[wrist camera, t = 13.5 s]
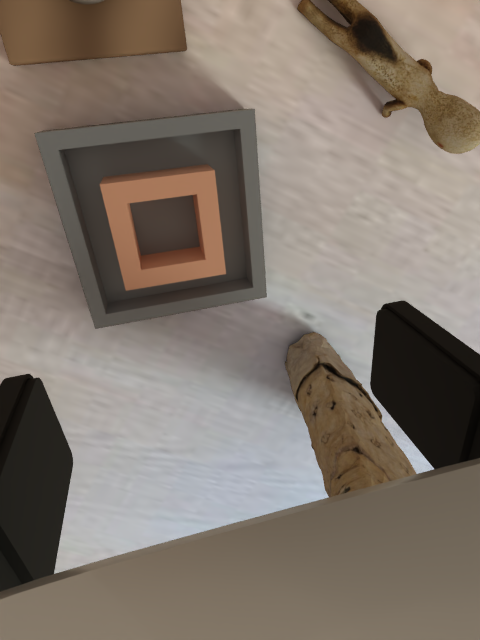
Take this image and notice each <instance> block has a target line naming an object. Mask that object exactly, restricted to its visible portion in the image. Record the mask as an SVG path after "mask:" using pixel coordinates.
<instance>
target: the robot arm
mask: <svg viewBox="0 0 480 640" xmlns="http://www.w3.org/2000/svg"><path fill="white" fill-rule="evenodd" d="M370 385H371V390H372V393H373V394H374V396H375V397H376V398H377V400H378V401H379V402H380V403H381V405H382V406H383V407H384V408H385V409H386V411H387V412H388V413H389V414H390V415H391V417H392V418H393V419H394V420H395V422H396V423H397V424H398V425H399V426H400V428H401V429H402V430H403V431H404V432H405V434H406V435H407V436H408V437H409V439H410V440H411V441H412V442H413V443H414V445H415V446H416V447H417V448H418V449H419V451H420V452H421V453H422V454H423V455H424V457H425V458H426V459H427V460H428V462H429V463H430V464H431V465H432V466H433V468H434V470H430V471H427V472H423V473H419V474H415V475H412V476H408V477H404V478H400V479H396V480H393V481H389V482H385V483H381V484H378V485H374V486H370V487H366V488H362V489H359V490H355V491H351V492H347V493H344V494H340V495H336V496H333V497H329V498H325V499H321V500H318V501H314V502H310V503H307V504H303V505H299V506H296V507H292V508H288V509H284V510H281V511H277V512H273V513H270V514H266V515H262V516H259V517H255V518H251V519H248V520H244V521H240V522H237V523H233V524H229V525H226V526H222V527H218V528H215V529H211V530H208V531H204V532H200V533H197V534H193V535H190V536H186V537H182V538H179V539H175V540H171V541H168V542H164V543H161V544H157V545H153V546H150V547H146V548H143V549H139V550H135V551H132V552H128V553H125V554H121V555H117V556H114V557H111V558H107V559H104V560H100V561H97V562H94V563H90V564H87V565H83V566H80V567H77V568H73V569H70V570H66V571H63V572H59V573H56V574H54V569H55V564H56V558H57V552H58V547H59V541H60V535H61V530H62V524H63V518H64V513H65V507H66V501H67V496H68V490H69V484H70V479H71V473H72V467H73V457H72V453H71V450H70V447H69V445H68V443H67V440H66V438H65V435H64V433H63V431H62V428H61V426H60V423H59V421H58V419H57V416H56V414H55V411H54V409H53V407H52V404H51V402H50V399H49V397H48V395H47V392H46V390H45V387H44V385H43V383H42V381H41V379H40V378H33V377H32V376H31V375H30V374H25V375H20V376H15V377H10V378H6V379H4V380H3V381H2V383H1V385H0V640H480V354H478V353H477V352H475V351H474V350H473V349H471V348H470V347H468V346H467V345H466V344H464V343H463V342H461V341H460V340H459V339H457V338H456V337H455V336H453V335H452V334H450V333H449V332H448V331H446V330H445V329H443V328H442V327H441V326H439V325H438V324H437V323H435V322H434V321H432V320H431V319H430V318H428V317H427V316H425V315H424V314H423V313H421V312H420V311H419V310H417V309H416V308H414V307H413V306H412V305H410V304H409V303H407V302H406V301H398V302H393V303H388V304H384V305H383V306H382V308H381V310H379V311H378V312H377V315H376V326H375V337H374V348H373V360H372V371H371V382H370Z"/></svg>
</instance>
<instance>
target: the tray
mask: <svg viewBox="0 0 480 640" xmlns="http://www.w3.org/2000/svg"><path fill="white" fill-rule="evenodd" d="M35 137H36V140H37V143H38V146H39V150H40V153H41V156H42V159H43V162H44V166H45V169H46V172H47V175H48V178H49V182H50V185H51V188H52V191H53V194H54V198H55V201H56V204H57V207H58V210H59V214H60V217H61V220H62V223H63V227H64V230H65V233H66V236H67V239H68V243H69V246H70V249H71V252H72V255H73V259H74V262H75V265H76V268H77V271H78V275H79V278H80V281H81V284H82V287H83V291H84V294H85V297H86V300H87V304H88V307H89V310H90V313H91V316H92V320H93V323H94V326H95V329H97V328H103V327H108V326H113V325H119V324H124V323H130V322H135V321H140V320H146V319H151V318H157V317H162V316H167V315H173V314H178V313H184V312H189V311H194V310H200V309H205V308H211V307H216V306H221V305H227V304H232V303H238V302H243V301H248V300H254V299H259V298H265V297H267V293H266V278H265V263H264V247H263V232H262V216H261V201H260V185H259V170H258V154H257V139H256V123H255V109H238V110H229V111H220V112H211V113H202V114H193V115H184V116H174V117H165V118H156V119H147V120H138V121H129V122H120V123H111V124H102V125H92V126H83V127H74V128H65V129H56V130H47V131H41V132H37V133H35ZM205 164H208V165H209V166H210V167H211V168H213V169H214V170H215V177H216V186H217V195H218V205H219V214H220V223H221V232H222V241H223V250H224V259H225V269H226V274H223V275H217V276H211V277H205V278H199V279H193V280H187V281H181V282H175V283H169V284H163V285H157V286H151V287H145V288H139V289H133V290H127V291H126V289H125V285H124V281H123V277H122V273H121V269H120V265H119V261H118V257H117V253H116V249H115V245H114V241H113V237H112V232H111V228H110V224H109V220H108V216H107V212H106V208H105V204H104V200H103V196H102V192H101V188H100V183H101V181H102V179H103V177H107V176H115V175H124V174H132V173H140V172H148V171H156V170H164V169H173V168H181V167H189V166H197V165H205ZM130 208H131V213H132V217H133V222H134V227H135V231H136V236H137V240H138V245H139V250H140V254H141V256H142V255H148V254H155V253H161V252H167V251H174V250H180V249H187V248H193V247H200V244H199V237H198V230H197V223H196V216H195V208H194V201H193V195H188V196H180V197H173V198H165V199H158V200H150V201H143V202H135V203H130Z"/></svg>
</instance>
